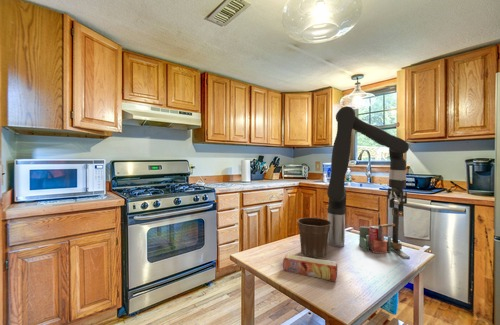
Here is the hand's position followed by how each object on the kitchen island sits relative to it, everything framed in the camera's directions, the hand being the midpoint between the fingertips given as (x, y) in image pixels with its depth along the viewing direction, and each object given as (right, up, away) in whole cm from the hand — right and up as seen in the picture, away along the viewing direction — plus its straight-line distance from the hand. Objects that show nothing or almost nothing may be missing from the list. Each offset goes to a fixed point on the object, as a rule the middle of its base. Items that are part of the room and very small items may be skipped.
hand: (396, 209), depth 123 cm
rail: (-1, -21, -3) cm, 22 cm away
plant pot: (-45, -21, -6) cm, 50 cm away
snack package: (-52, -22, -27) cm, 63 cm away
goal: (-10, -21, +1) cm, 24 cm away
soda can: (-10, -21, +1) cm, 24 cm away
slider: (-6, -21, -1) cm, 22 cm away
